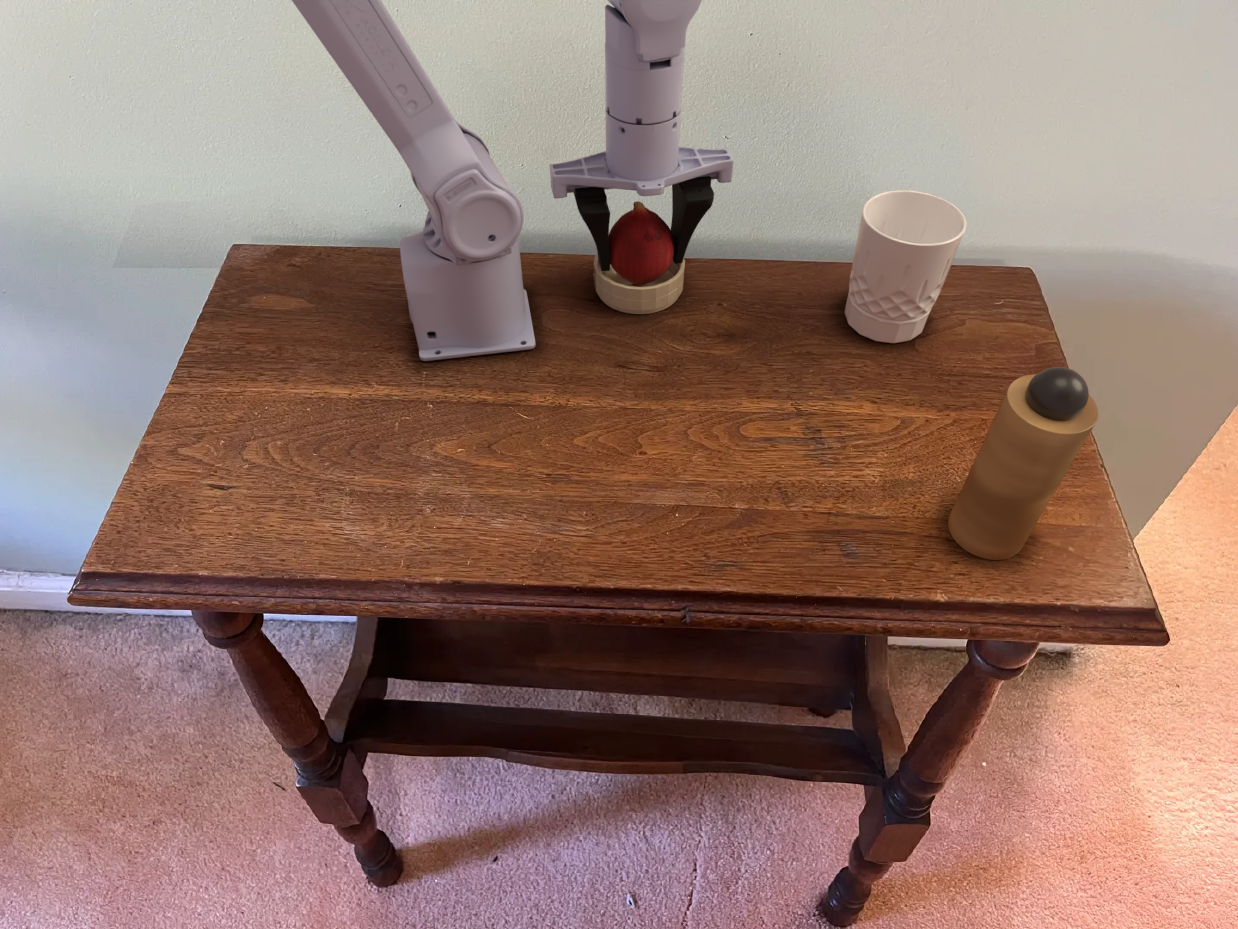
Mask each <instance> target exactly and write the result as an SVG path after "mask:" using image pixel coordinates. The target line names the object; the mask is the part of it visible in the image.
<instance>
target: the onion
mask: <svg viewBox="0 0 1238 929" xmlns="http://www.w3.org/2000/svg"><path fill="white" fill-rule="evenodd" d="M632 205H633V208H632V209H631V210H629V211H627V212H625V213H624V214H622V215H621V216H620V217H619V218H618V219H617V220H616V221H615V223H614V224H613V225H612V227H611V229H609V237H608V244H609V255H610V264H611V266H612V267H613V269H614V270H615V271H616V272H617V273H618V274H619V275H620V276H621V277H622V278H624V279H626V280H628V281H630V282H631V283H633V284H635V285H638V286H639V285H643V284H647V283H650V282H652V281H655V280H656V279H658V278H659V277H661V276H662V275H663V274H664V273H665V272H666V271H667V270H668V268H669V267H670V265H671V264H672V260H673V255H674V237H673V234H672V231H671V227H669V225H668V224H667V223H666V222H665V221H664V219H662V218H661V217H660V215H658V213H656V212H655V211H652V210H651V209H649V208H647V207H646V206H645V205H644V202H642V201H637V200H636V201H634V202H633V204H632Z"/></svg>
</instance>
